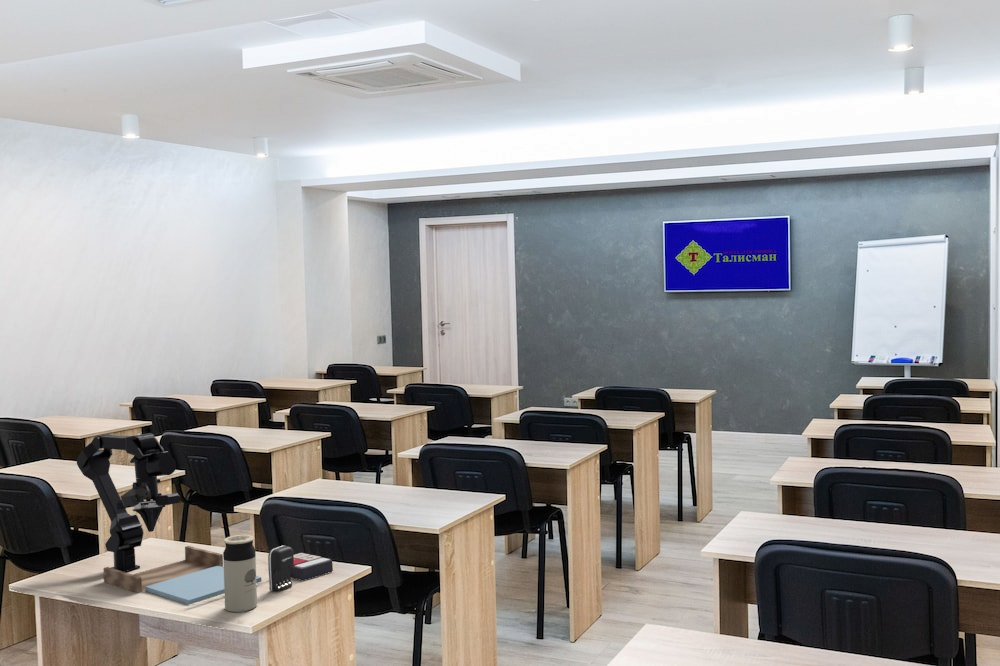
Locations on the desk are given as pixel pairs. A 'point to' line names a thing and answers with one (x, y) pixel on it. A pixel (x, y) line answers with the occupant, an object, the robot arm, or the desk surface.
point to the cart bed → (164, 570)
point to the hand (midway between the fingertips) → (151, 531)
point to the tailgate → (193, 586)
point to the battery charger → (280, 568)
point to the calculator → (309, 566)
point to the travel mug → (240, 573)
